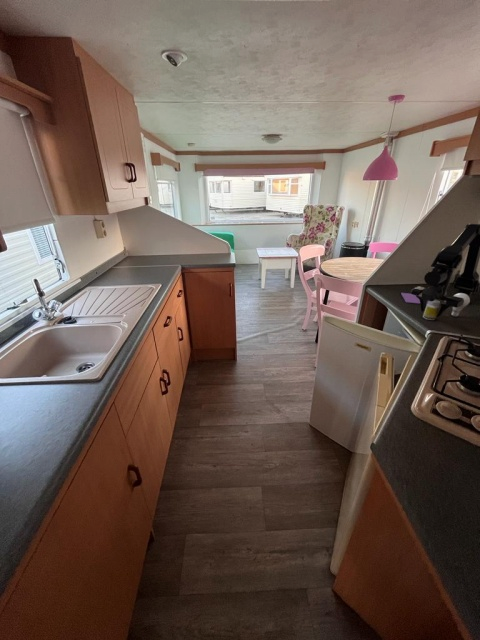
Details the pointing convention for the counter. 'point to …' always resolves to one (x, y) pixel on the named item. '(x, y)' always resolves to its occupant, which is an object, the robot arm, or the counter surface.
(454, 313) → the lightbulb
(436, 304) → the supplement bottle
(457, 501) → the counter surface
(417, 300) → the cloth
